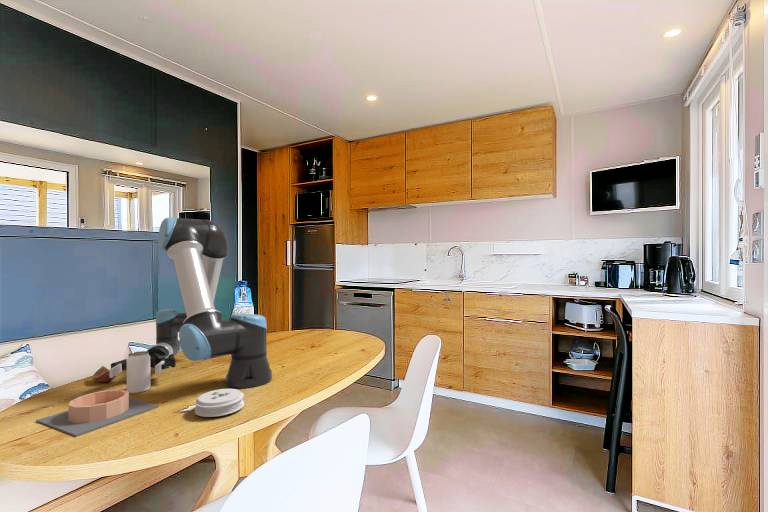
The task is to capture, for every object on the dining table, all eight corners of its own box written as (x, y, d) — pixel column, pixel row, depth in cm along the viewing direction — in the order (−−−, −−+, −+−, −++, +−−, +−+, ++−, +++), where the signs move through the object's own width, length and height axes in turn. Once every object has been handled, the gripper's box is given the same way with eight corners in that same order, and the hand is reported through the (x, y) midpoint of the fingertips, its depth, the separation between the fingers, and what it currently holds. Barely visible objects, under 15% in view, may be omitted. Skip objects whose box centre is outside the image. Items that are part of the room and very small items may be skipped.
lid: (193, 424, 96) (193, 404, 96) (196, 406, 108) (196, 389, 108) (245, 415, 101) (245, 396, 101) (243, 399, 113) (242, 382, 113)
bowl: (138, 407, 105) (138, 393, 105) (85, 426, 94) (85, 410, 94) (112, 400, 111) (112, 387, 111) (59, 417, 100) (59, 402, 100)
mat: (158, 406, 107) (158, 405, 107) (76, 436, 89) (76, 435, 89) (118, 396, 116) (118, 395, 116) (36, 421, 98) (36, 420, 98)
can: (155, 388, 123) (154, 351, 123) (136, 394, 117) (136, 356, 117) (140, 386, 125) (140, 350, 126) (121, 392, 119) (121, 355, 119)
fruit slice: (118, 382, 130) (118, 368, 130) (94, 387, 125) (94, 372, 125) (113, 377, 136) (113, 363, 136) (90, 381, 131) (90, 367, 131)
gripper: (193, 362, 142) (176, 380, 121) (121, 367, 136) (89, 387, 115) (193, 343, 142) (176, 357, 121) (121, 347, 136) (89, 362, 115)
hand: (133, 371), depth 118 cm, fingers open, 12 cm apart
